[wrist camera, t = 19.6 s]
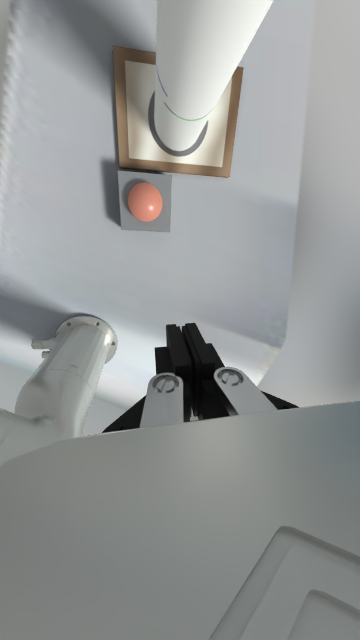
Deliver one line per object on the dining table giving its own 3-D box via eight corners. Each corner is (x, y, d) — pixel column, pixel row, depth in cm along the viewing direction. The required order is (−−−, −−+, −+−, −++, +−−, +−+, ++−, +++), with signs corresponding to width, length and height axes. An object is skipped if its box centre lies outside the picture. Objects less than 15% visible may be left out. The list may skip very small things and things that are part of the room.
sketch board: (120, 167, 33) (119, 166, 32) (113, 50, 28) (112, 44, 27) (227, 177, 36) (229, 176, 35) (241, 71, 30) (243, 66, 29)
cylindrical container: (187, 76, 29) (310, -422, 7) (209, 134, 32) (345, -72, 10) (144, 107, 30) (124, -243, 7) (170, 161, 33) (210, 28, 10)
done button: (130, 220, 36) (128, 220, 32) (129, 185, 33) (127, 181, 30) (161, 222, 36) (162, 222, 33) (161, 187, 34) (162, 184, 31)
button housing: (123, 229, 37) (121, 229, 34) (120, 175, 34) (117, 170, 31) (168, 231, 38) (170, 232, 35) (169, 179, 35) (171, 175, 32)
